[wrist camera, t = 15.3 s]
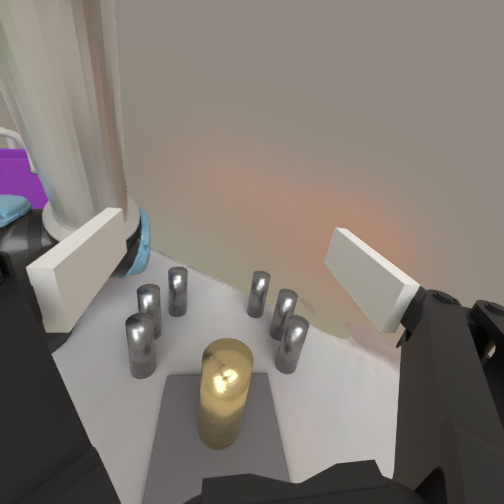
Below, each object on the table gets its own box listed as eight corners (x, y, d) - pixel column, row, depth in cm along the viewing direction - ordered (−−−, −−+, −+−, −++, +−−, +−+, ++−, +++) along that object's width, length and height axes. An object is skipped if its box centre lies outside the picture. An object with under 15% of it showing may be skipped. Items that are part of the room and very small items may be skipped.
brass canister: (188, 429, 31) (191, 361, 25) (217, 396, 36) (224, 331, 30) (222, 460, 29) (233, 393, 23) (248, 420, 33) (262, 355, 27)
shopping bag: (58, 221, 84) (37, 124, 71) (99, 239, 76) (84, 134, 63) (-67, 246, 60) (-134, 109, 47) (-27, 277, 52) (-93, 122, 39)
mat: (138, 528, 24) (138, 525, 23) (167, 379, 38) (167, 375, 37) (293, 507, 27) (295, 504, 26) (266, 376, 41) (266, 372, 40)
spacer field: (124, 379, 37) (117, 330, 32) (151, 305, 52) (149, 265, 48) (300, 373, 42) (315, 330, 38) (277, 307, 58) (285, 272, 53)
